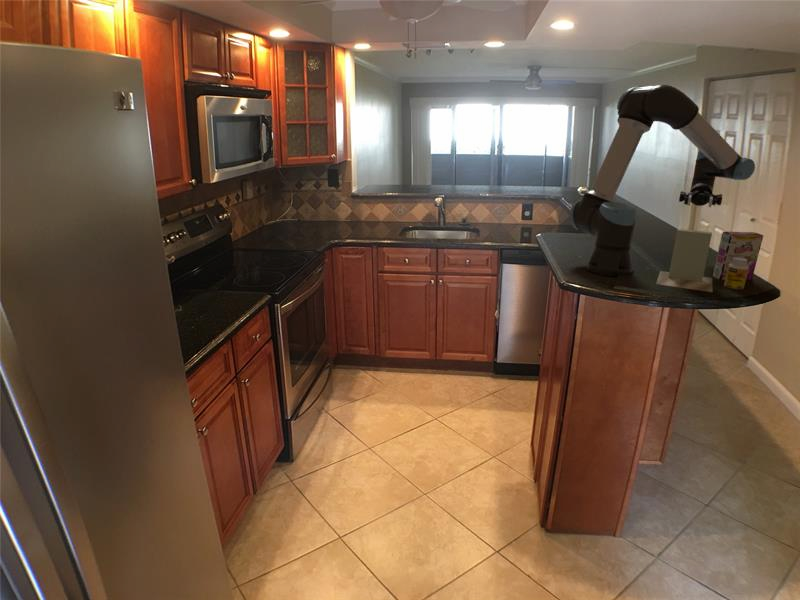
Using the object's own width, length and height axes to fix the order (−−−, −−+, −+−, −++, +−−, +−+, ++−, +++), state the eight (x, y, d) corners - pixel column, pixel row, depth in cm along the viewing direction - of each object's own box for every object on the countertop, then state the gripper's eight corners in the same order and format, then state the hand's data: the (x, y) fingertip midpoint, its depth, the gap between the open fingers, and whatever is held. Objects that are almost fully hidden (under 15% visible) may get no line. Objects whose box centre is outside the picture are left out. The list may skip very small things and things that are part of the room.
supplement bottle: (721, 290, 172) (728, 258, 169) (725, 286, 176) (731, 255, 173) (741, 293, 168) (749, 262, 165) (744, 289, 172) (752, 258, 169)
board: (655, 286, 174) (655, 283, 173) (659, 273, 189) (660, 270, 188) (711, 295, 166) (712, 292, 166) (711, 280, 182) (712, 277, 181)
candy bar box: (720, 282, 180) (730, 234, 174) (711, 278, 184) (721, 231, 179) (752, 283, 180) (764, 234, 175) (743, 278, 185) (754, 231, 179)
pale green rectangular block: (668, 277, 181) (677, 230, 176) (668, 275, 183) (677, 228, 178) (701, 282, 176) (712, 233, 171) (702, 279, 179) (712, 232, 174)
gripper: (727, 206, 197) (729, 216, 178) (671, 202, 206) (667, 210, 186) (732, 186, 195) (734, 193, 176) (674, 182, 203) (671, 188, 184)
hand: (699, 202), depth 181 cm, fingers open, 6 cm apart
